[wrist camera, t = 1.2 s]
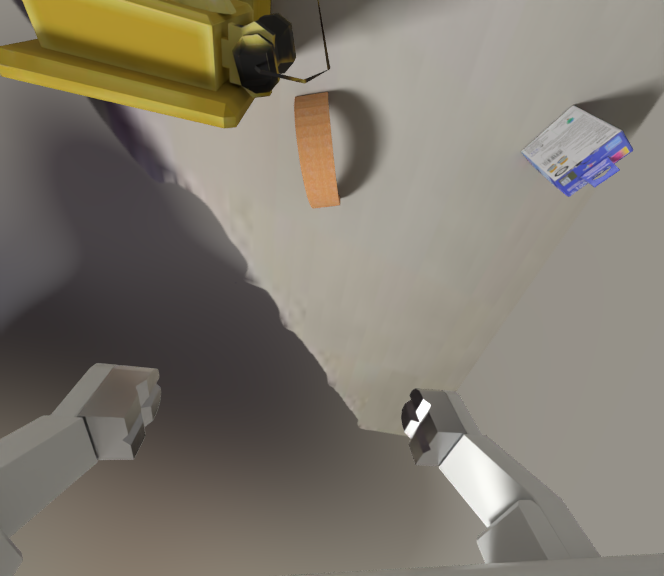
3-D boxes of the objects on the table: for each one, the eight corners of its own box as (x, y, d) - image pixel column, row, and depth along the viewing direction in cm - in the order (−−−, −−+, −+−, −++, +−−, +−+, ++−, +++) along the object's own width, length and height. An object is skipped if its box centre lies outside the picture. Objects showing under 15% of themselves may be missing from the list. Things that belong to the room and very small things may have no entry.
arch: (329, 91, 48) (329, 109, 41) (340, 198, 62) (341, 224, 55) (295, 96, 48) (289, 114, 41) (314, 201, 63) (312, 227, 56)
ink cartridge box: (533, 167, 57) (575, 206, 48) (518, 152, 55) (559, 189, 45) (587, 123, 51) (648, 156, 42) (573, 103, 49) (634, 134, 39)
